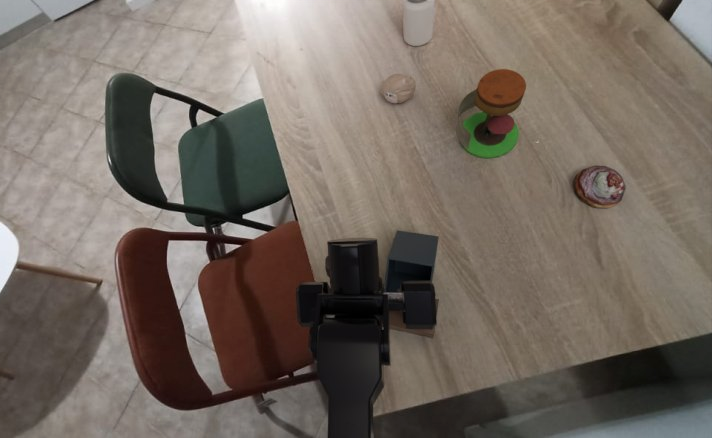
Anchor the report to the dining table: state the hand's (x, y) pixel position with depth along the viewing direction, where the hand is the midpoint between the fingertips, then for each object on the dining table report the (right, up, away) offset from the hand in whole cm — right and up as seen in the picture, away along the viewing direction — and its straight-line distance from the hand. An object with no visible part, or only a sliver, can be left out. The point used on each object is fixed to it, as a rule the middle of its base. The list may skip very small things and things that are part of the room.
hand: (367, 291), depth 69 cm
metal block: (+9, -6, +9) cm, 14 cm away
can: (+19, +54, +32) cm, 65 cm away
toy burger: (+28, +28, +18) cm, 44 cm away
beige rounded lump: (+13, +38, +27) cm, 49 cm away
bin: (+11, +1, +11) cm, 16 cm away
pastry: (+42, +17, +8) cm, 46 cm away
